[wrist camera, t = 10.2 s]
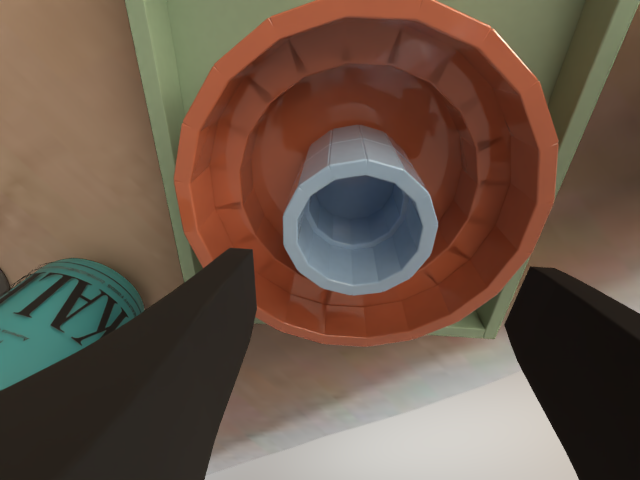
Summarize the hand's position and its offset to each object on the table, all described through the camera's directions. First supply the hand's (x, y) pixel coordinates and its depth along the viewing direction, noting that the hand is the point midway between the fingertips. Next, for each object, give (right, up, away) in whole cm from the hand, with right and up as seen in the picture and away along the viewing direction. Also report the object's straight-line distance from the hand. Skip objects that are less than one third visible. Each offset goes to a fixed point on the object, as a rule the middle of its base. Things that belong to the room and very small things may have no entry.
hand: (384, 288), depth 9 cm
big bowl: (0, +5, +7) cm, 9 cm away
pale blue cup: (0, +4, +7) cm, 8 cm away
